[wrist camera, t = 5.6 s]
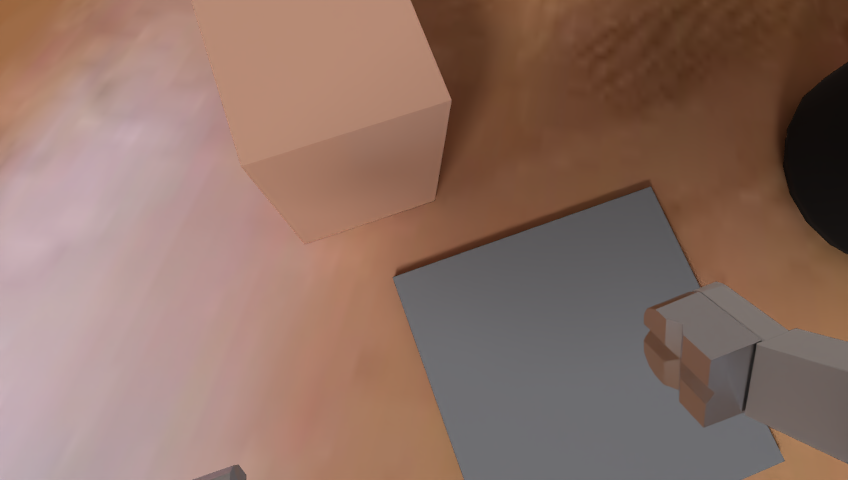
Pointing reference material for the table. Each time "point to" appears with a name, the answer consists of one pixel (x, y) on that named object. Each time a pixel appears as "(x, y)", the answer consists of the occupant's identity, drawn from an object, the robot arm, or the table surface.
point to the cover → (329, 106)
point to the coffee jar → (821, 158)
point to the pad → (568, 355)
